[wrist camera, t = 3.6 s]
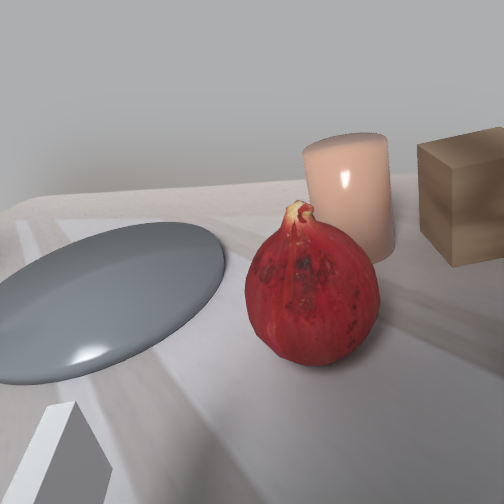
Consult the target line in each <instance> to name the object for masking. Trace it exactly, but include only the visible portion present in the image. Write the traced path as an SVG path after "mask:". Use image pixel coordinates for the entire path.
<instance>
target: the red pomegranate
mask: <svg viewBox="0 0 504 504" xmlns="http://www.w3.org/2000/svg"><path fill="white" fill-rule="evenodd" d="M313 212H314V206H312V205H310V204H307V203H305V202H303V201H299V200H297V201H296V202H294V203H293V204H291V205H290V206H288V207H286V213H285V216H284V219H283V222H282V225H281V227H280V228H279V230H278V231H276V232H275V233H274V234H273V235H271V236H270V237H269V238H268V239H267V240H266V241H265V242H264V243H263V244H262V245H261V247H260V248H259V249H258V251H257V253H256V255H255V256H254V258H253V261H252V263H251V266H250V268H249V271H248V274H247V277H246V283H245V299H246V306H247V311H248V316H249V320H250V322H251V324H252V327H253V329H254V331H255V333H256V335H257V336H258V337H259V338H260V339H261V340H262V341H263V342H264V343H265V344H266V345H268V346H269V347H270V348H271V349H272V350H273V351H274V352H275V353H276V354H277V355H278V356H279V357H281V358H284V359H287V360H289V361H292V362H295V363H298V364H301V365H305V366H322V365H327V364H330V363H333V362H335V361H338V360H341V359H343V358H344V357H346V356H348V355H349V354H350V353H351V352H352V351H353V350H355V349H356V348H357V347H358V346H359V345H360V344H362V342H363V341H364V339H365V338H366V337H367V335H368V334H369V332H370V330H371V328H372V326H373V324H374V322H375V320H376V318H377V316H378V311H379V305H380V295H379V288H378V283H377V278H376V274H375V270H374V267H373V265H372V263H371V261H370V259H369V257H368V256H367V254H366V253H365V252H364V250H363V249H362V248H361V247H360V246H359V245H358V244H357V243H356V242H355V241H354V240H353V239H352V238H351V237H350V236H348V235H347V234H346V233H345V232H343V231H342V230H340V229H338V228H337V227H335V226H332V225H330V224H327V223H323V222H320V221H316V219H315V217H314V215H313Z"/></svg>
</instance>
